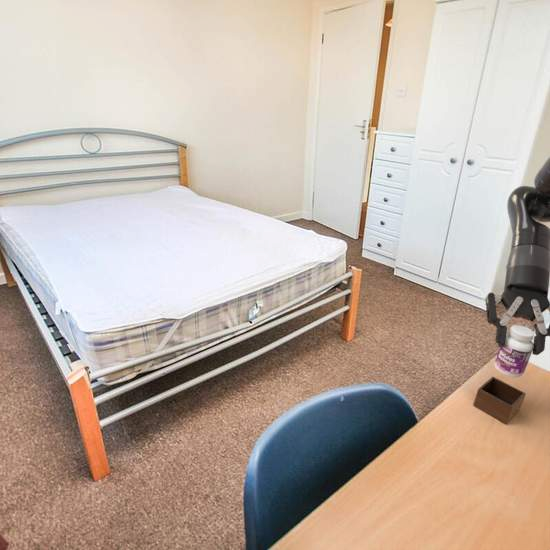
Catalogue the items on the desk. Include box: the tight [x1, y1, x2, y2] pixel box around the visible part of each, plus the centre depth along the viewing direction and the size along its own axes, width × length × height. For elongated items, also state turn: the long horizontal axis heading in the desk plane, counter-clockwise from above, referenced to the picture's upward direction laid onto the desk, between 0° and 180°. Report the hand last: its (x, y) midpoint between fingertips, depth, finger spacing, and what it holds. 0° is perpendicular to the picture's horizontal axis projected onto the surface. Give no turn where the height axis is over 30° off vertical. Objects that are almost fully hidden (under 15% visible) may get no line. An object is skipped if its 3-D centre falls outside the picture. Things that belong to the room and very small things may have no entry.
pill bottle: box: [493, 324, 535, 378], centre depth 76 cm, size 5×5×10 cm
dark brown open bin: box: [472, 376, 527, 425], centre depth 81 cm, size 7×7×5 cm
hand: (518, 349), depth 74 cm, fingers closed on pill bottle, 5 cm apart
